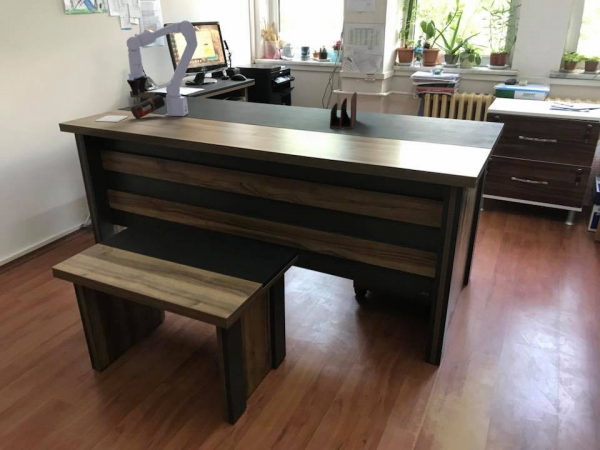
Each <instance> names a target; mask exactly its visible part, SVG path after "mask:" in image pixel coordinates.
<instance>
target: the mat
mask: <svg viewBox="0 0 600 450" xmlns="http://www.w3.org/2000/svg"><path fill="white" fill-rule="evenodd" d="M129 117H130V116H129V115H105V116H102V117H100V118H97V119H95V120H94V122H96V123H97V122H98V123H99V122H101V123H119V122H121V121H123V120H125V119H128V118H129Z"/></svg>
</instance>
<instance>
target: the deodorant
mask: <svg viewBox="0 0 600 450" xmlns="http://www.w3.org/2000/svg"><path fill="white" fill-rule="evenodd" d="M165 105H166V103H165V100H164V98H163V96H162V95H160V94H156V95H154V96H152V97H150V98H148V99H146V100H144V101H142V102H140V103H138V104H136V105H133V106H131V107H130V110H131V111H130V112H131V114H132V115H133V117H134V118H135V119H137V120H139V119H141V118H143V117H145V116H147V115H150V114H151V113H153V112H155V111H157V110H158V109H161V108H164V107H165Z"/></svg>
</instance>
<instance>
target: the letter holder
mask: <svg viewBox="0 0 600 450" xmlns="http://www.w3.org/2000/svg"><path fill="white" fill-rule="evenodd" d="M357 94H358V93H357V92H356V91H355V92H353V94H352V96H351V99H350V116H349V114H348V112H347V106H348V98H347V97H345V98H344V99H343V100H342V103H341V104H340V116H338V102H336V103H334V104H333V106H332V107H331V109H330V119H329V121H330V122H329V129H332V128H344V129H343V130H353V127H354V125H355V123H356V122H357V99H358V98H357Z"/></svg>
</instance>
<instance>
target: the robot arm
mask: <svg viewBox="0 0 600 450" xmlns="http://www.w3.org/2000/svg"><path fill="white" fill-rule="evenodd" d="M173 33H174V34H180V33H181V35H182V36H183V37H184V40H185V42H186V46H185V47H184V50H183V52H182V55H181V56H180V59H179V61H178V64H177V65H176V68H175V71H174V73H173V74H172V77H171V79H170V80H169V81H168V82H167V83H166V87H165V91H166V94H165V99H166V109H167V113H165V114H164V116H167V117H168V116H169V117H171V116H173V117H174V116H175V117H185V116H186V115H188V114H189V113H190V112H189V107H188V99H187V96H184V95H183V96H182V94H181V93H180V91H181V88H180V87H181V85H182V83H183V82H182V81H183V79H184V76H185V74H186V73H187V70H188V68H189V65H190V63H191V61H192V58H193V56H194V55H195V52H196V50H197V47H198V41H197V40H198V39H197V33H196V29H195V27H194V26H193V23H191V22H190V21H189V20H182V21H178V22H177V21H176V22H172V23H171V24H167V25H166V26H164V27H161V28H158V29H157V30H154V31H153V30H151V29H144V31H143V32H140V33H138V34H137V33H135V34H134V36H130V37H129V38H127V40H126V47H127V52H128V53H127V54H128V55H127V56H128V63H129V65H128V66H129V73H127V75H128V79H127V80H126V82H127V83H128V86H129V87H130V89H131V92H132V95H133V96H139V94H140V93H142V94H143V93H145V91H146V84H147V81H148V76H146V73H145V71H144V69H143V68H144V67H143V62H142V53H141V48H144V47H148V46H150V45H152V44H154V43H156V42H157V39H159V38H161V37H164V36H167V35H170V34H173Z"/></svg>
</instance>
